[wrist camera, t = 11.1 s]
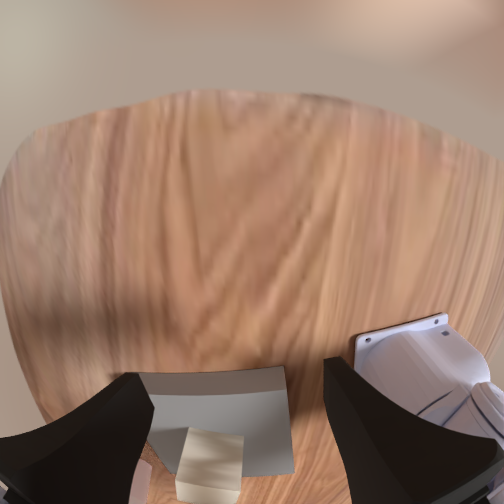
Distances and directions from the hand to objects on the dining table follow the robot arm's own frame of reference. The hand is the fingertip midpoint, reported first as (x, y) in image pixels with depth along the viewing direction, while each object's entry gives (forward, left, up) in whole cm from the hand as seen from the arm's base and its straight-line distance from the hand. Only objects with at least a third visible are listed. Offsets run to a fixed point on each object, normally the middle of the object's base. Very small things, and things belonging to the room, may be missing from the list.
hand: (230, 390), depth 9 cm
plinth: (+5, +14, -10) cm, 18 cm away
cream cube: (+5, +14, -7) cm, 17 cm away
